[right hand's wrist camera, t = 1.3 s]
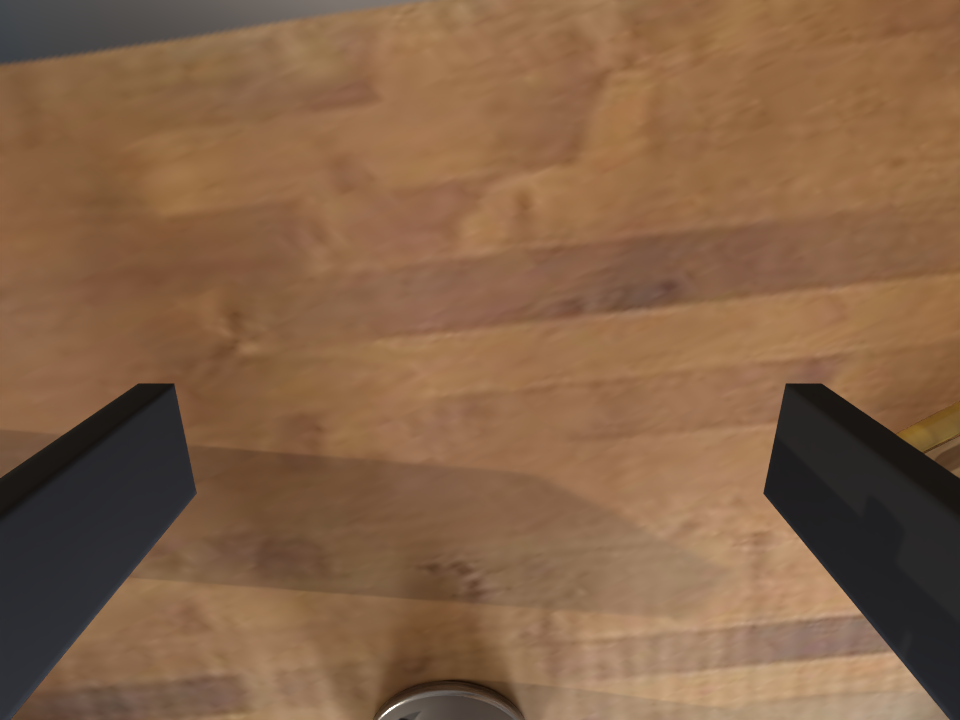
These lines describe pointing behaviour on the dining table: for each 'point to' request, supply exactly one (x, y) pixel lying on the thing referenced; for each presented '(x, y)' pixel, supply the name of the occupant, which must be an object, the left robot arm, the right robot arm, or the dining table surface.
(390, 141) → the dining table surface
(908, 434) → the drawer
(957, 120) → the dining table surface
